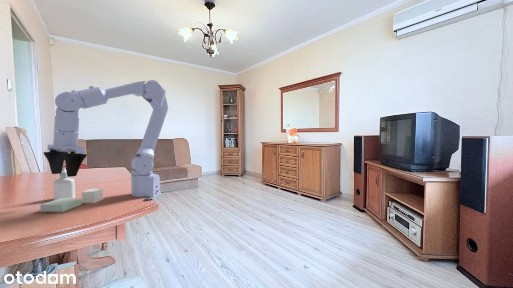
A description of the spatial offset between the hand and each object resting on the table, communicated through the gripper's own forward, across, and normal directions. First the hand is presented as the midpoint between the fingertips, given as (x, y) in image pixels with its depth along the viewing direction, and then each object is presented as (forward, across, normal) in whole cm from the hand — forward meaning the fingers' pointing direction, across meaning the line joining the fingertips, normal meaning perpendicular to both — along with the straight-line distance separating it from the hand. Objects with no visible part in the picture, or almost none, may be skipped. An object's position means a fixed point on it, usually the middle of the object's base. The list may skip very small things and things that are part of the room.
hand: (64, 175), depth 67 cm
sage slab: (+10, +2, -1) cm, 10 cm away
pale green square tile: (+12, +2, -1) cm, 12 cm away
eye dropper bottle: (+11, -9, +5) cm, 15 cm away
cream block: (+11, +4, +7) cm, 13 cm away
